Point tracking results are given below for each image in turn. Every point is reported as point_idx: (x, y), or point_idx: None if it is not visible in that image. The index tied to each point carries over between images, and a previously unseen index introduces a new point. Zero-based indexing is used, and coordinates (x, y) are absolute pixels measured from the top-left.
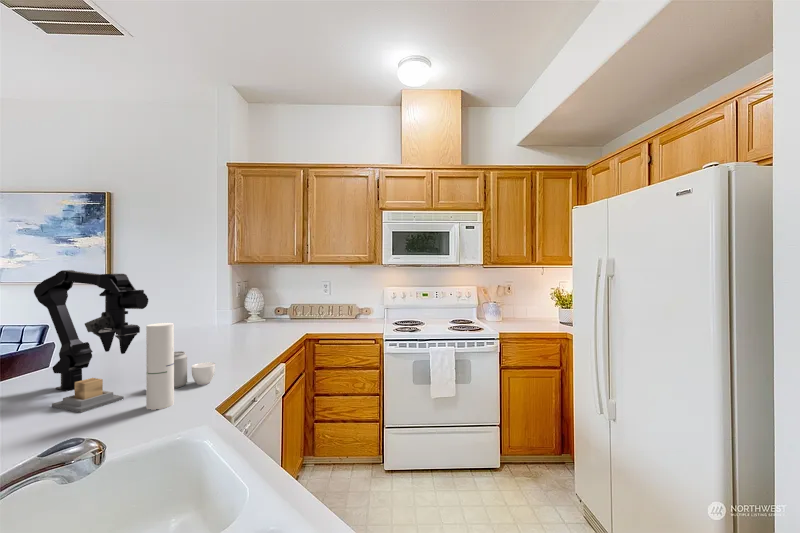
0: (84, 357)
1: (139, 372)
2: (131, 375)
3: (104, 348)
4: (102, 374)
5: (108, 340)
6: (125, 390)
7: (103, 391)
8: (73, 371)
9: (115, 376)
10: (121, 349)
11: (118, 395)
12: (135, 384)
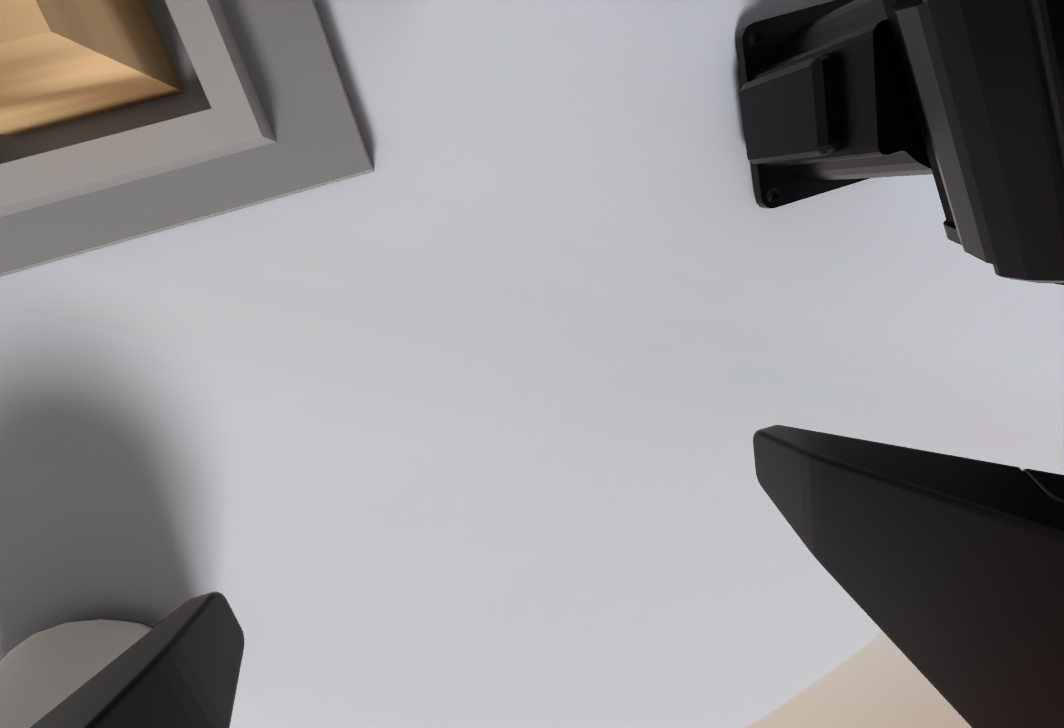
0: (996, 151)
1: (803, 574)
2: (769, 518)
3: (822, 439)
4: (997, 384)
5: (990, 646)
6: (307, 381)
7: (67, 162)
8: (886, 56)
9: (849, 434)
10: (84, 683)
11: (1, 271)
12: (451, 480)
